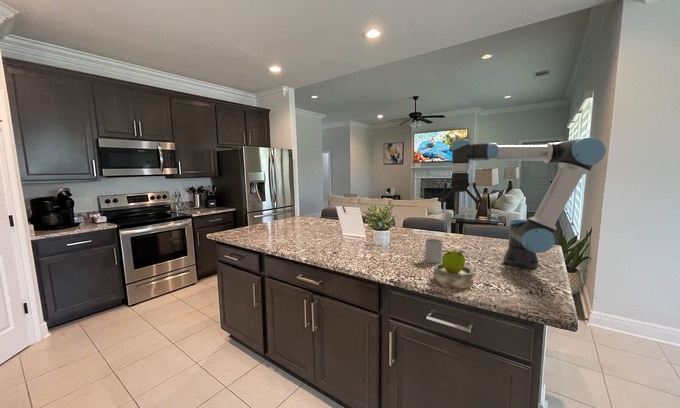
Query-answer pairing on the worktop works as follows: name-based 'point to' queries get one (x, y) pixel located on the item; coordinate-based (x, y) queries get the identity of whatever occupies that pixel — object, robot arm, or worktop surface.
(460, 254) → the fruit
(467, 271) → the shallow stone bowl
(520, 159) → the robot arm
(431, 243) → the mug
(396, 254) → the worktop surface
